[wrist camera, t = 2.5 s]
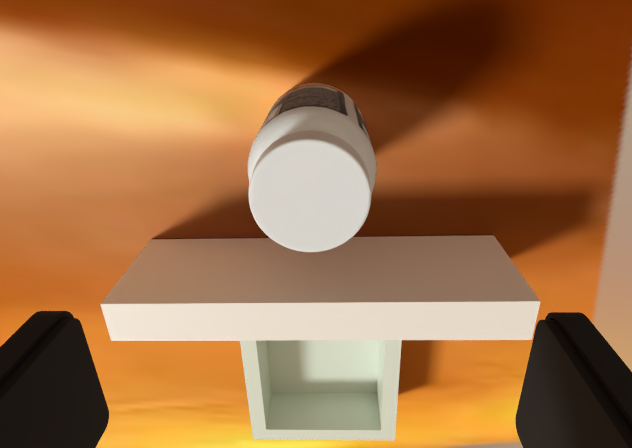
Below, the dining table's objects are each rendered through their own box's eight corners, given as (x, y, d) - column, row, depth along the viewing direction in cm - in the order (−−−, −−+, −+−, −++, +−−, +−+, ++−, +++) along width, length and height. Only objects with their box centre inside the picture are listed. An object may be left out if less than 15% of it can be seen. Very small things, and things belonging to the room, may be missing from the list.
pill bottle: (250, 150, 26) (208, 224, 17) (296, 60, 24) (275, 92, 15) (333, 195, 27) (334, 287, 18) (385, 113, 25) (415, 173, 16)
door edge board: (150, 239, 29) (100, 304, 23) (493, 235, 28) (540, 301, 22) (158, 275, 30) (113, 346, 24) (487, 273, 29) (530, 346, 23)
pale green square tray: (248, 292, 31) (238, 327, 27) (394, 291, 30) (402, 326, 27) (260, 398, 35) (253, 439, 32) (388, 398, 35) (394, 440, 31)
